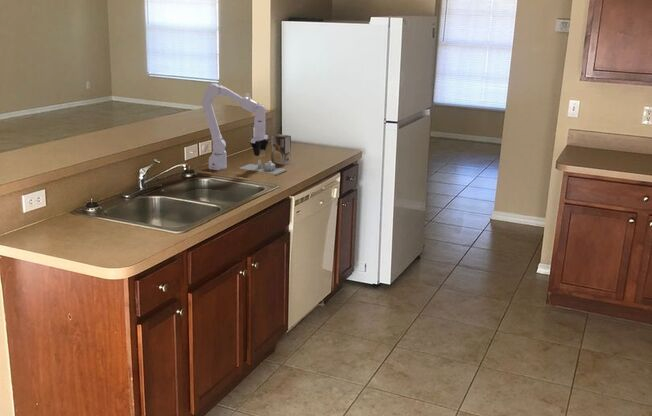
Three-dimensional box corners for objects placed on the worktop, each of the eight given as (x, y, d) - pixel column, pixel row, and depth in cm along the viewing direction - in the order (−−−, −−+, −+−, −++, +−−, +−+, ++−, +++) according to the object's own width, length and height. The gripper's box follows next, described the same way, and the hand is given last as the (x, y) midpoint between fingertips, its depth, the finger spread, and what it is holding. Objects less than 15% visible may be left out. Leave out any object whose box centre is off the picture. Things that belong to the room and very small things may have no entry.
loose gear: (261, 157, 345) (261, 151, 344) (252, 156, 347) (252, 150, 346) (266, 155, 350) (266, 149, 349) (257, 154, 352) (257, 148, 351)
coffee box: (291, 164, 366) (291, 135, 362) (285, 167, 361) (285, 137, 356) (276, 162, 370) (277, 133, 366) (270, 164, 365) (270, 135, 360)
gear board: (275, 176, 341) (276, 165, 339) (238, 170, 349) (238, 159, 347) (286, 171, 351) (287, 161, 349) (250, 166, 360) (250, 155, 358)
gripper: (259, 131, 337) (259, 158, 340) (273, 127, 349) (273, 153, 353) (247, 130, 339) (247, 156, 343) (261, 126, 352) (261, 151, 356)
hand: (259, 154), depth 348 cm, fingers closed on loose gear, 5 cm apart
